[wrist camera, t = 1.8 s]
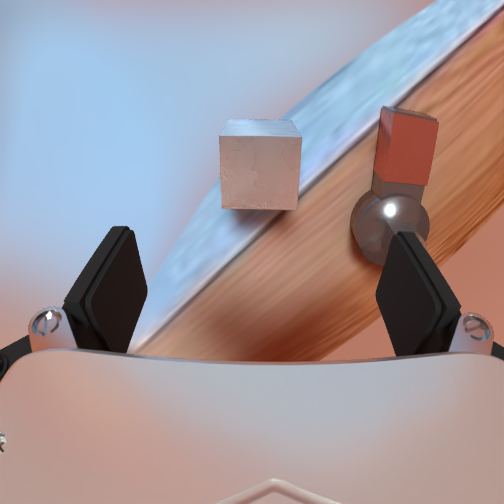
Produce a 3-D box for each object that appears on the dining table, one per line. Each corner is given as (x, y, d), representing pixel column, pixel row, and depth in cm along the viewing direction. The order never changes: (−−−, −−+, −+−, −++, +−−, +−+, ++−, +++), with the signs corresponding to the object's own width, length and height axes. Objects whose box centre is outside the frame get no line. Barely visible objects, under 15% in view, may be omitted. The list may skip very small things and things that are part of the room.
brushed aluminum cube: (288, 178, 26) (296, 210, 21) (229, 177, 26) (221, 208, 21) (291, 120, 23) (302, 137, 18) (228, 119, 23) (219, 135, 18)
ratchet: (366, 103, 22) (397, 117, 17) (437, 116, 22) (478, 135, 17) (345, 248, 30) (361, 291, 25) (407, 250, 30) (431, 289, 24)
